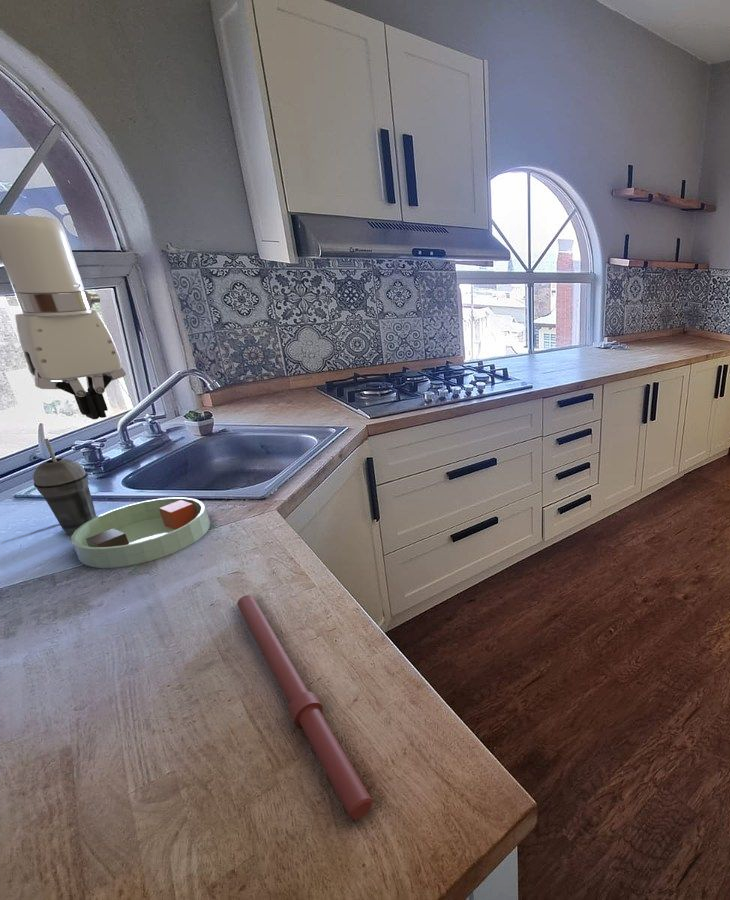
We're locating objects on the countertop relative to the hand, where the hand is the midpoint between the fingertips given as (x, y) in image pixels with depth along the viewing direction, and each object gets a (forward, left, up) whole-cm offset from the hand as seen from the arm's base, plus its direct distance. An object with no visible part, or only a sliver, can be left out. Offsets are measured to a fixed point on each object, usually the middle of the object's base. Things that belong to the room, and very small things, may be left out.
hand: (96, 416), depth 84 cm
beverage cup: (-3, +18, -27) cm, 33 cm away
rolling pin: (-6, -54, -27) cm, 61 cm away
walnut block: (-4, +3, -26) cm, 26 cm away
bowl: (+2, +4, -27) cm, 27 cm away
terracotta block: (+8, +5, -26) cm, 28 cm away
